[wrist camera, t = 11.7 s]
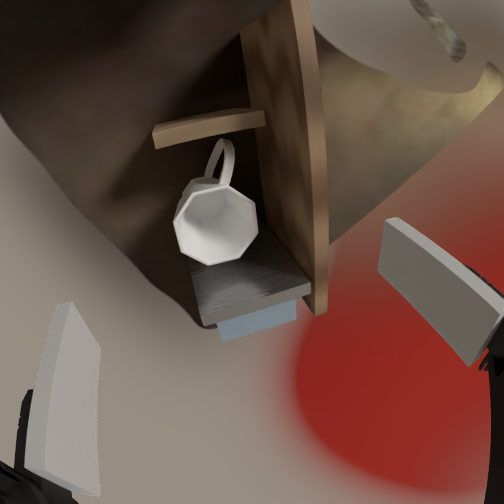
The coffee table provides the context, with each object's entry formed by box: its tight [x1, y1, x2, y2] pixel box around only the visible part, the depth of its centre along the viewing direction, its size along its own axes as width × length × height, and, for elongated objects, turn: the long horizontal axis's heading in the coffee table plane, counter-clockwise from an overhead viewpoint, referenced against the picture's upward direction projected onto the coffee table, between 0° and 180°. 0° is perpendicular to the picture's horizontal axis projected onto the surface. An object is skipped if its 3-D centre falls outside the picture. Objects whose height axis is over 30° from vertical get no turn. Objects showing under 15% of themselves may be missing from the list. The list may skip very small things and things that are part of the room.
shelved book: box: [217, 299, 296, 342], centre depth 29 cm, size 3×7×11 cm, turn 99°
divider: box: [152, 108, 266, 149], centre depth 22 cm, size 1×8×8 cm, turn 99°
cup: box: [173, 138, 258, 266], centre depth 25 cm, size 7×10×8 cm
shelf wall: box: [240, 0, 329, 316], centre depth 24 cm, size 25×1×12 cm, turn 9°
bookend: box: [187, 222, 311, 326], centre depth 28 cm, size 2×9×12 cm, turn 99°
